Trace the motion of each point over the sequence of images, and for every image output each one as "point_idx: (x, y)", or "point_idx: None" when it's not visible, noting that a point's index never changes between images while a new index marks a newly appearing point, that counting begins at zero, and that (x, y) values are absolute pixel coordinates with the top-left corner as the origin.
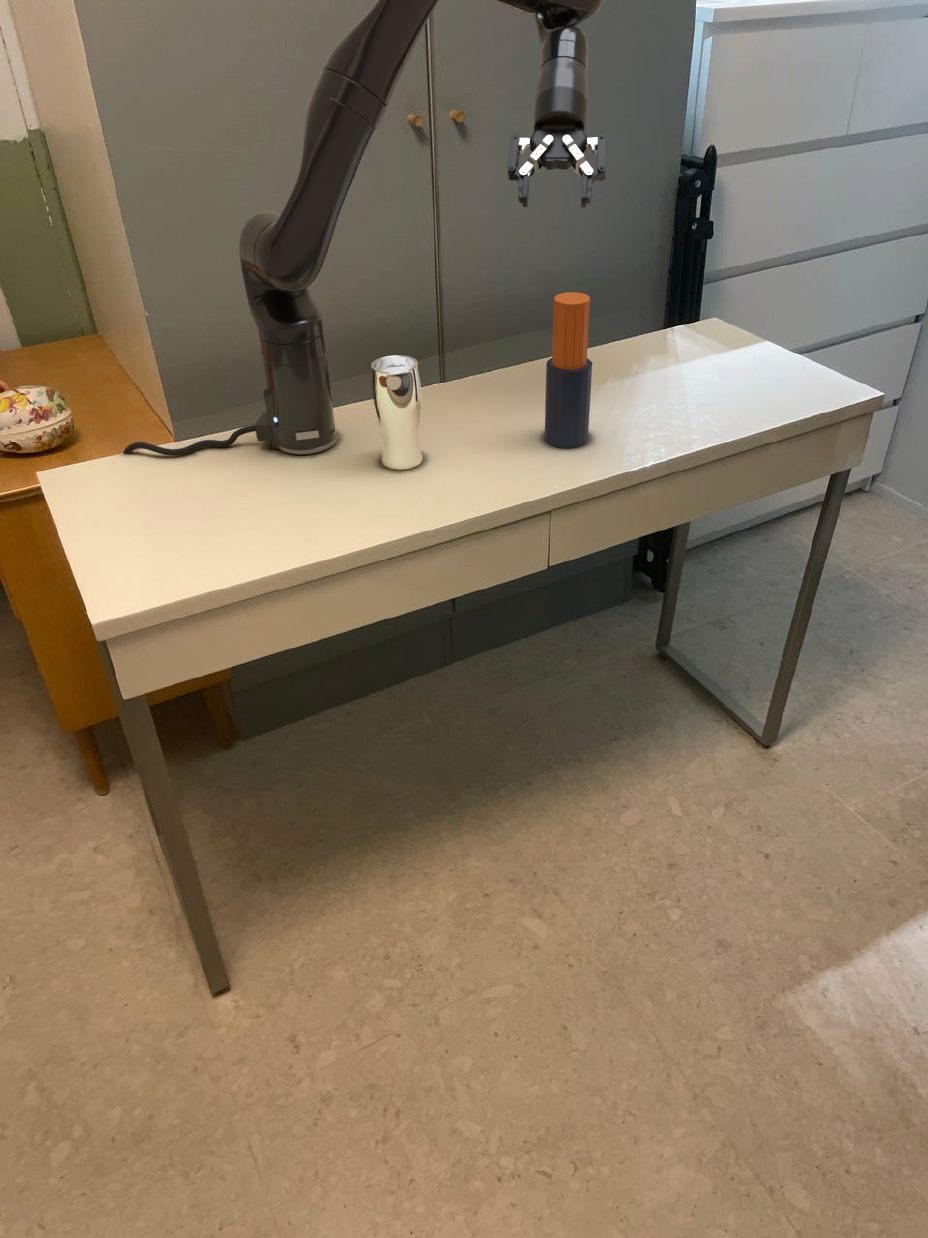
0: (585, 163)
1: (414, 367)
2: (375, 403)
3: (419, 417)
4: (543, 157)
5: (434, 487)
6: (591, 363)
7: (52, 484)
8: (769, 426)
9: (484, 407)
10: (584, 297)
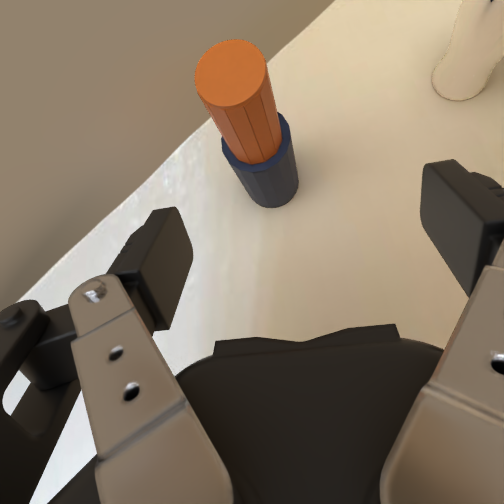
0: (94, 324)
1: None
2: None
3: (452, 37)
4: (434, 347)
5: (394, 36)
6: (222, 146)
7: None
8: (60, 264)
9: (400, 246)
10: (205, 81)
